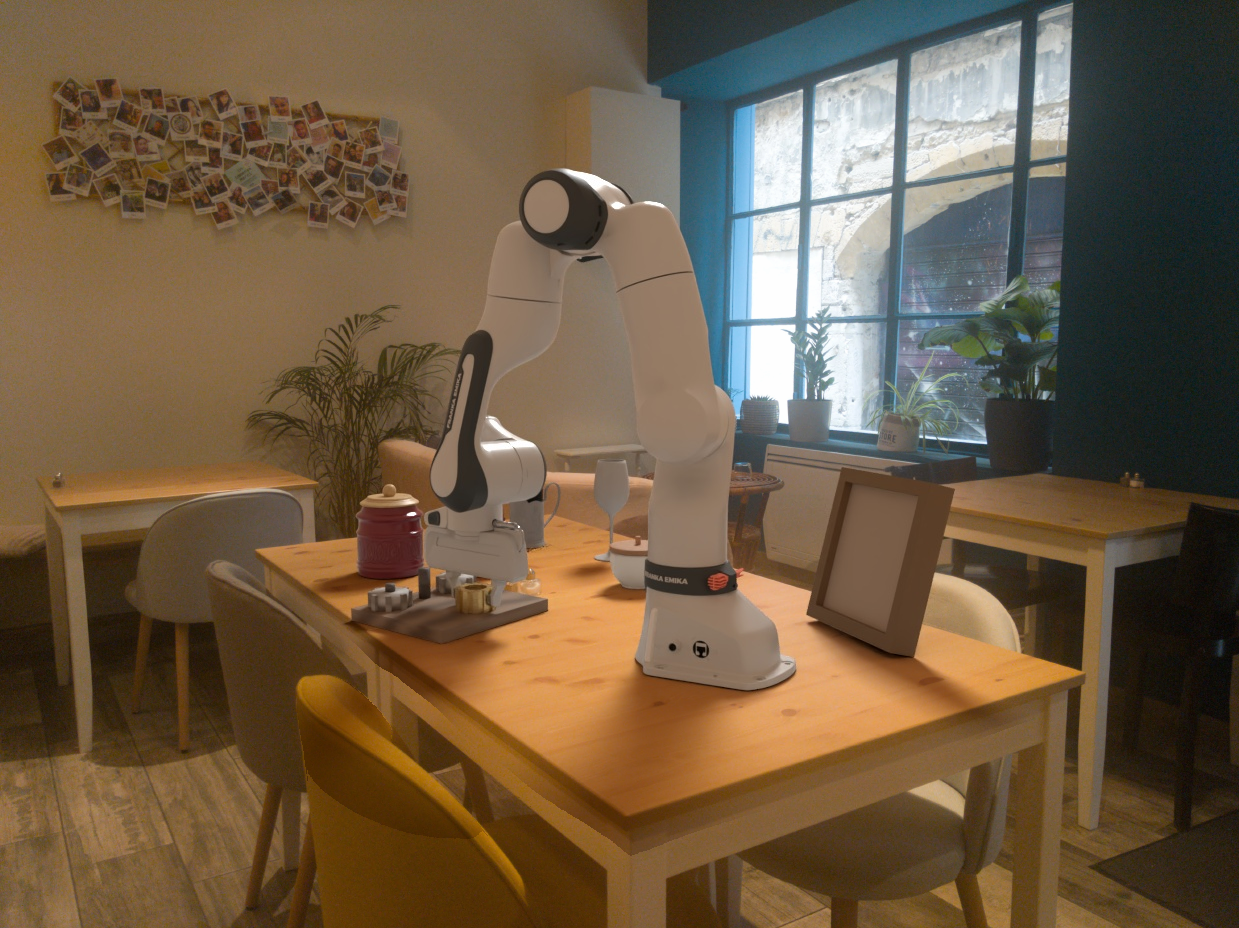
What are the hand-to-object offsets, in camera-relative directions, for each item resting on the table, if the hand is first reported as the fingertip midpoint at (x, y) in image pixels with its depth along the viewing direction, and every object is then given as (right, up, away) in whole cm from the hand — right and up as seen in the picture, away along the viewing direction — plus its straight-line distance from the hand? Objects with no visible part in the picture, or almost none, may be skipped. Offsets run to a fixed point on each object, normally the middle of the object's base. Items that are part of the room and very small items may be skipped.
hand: (475, 601), depth 152 cm
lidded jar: (+27, -1, +25) cm, 37 cm away
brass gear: (0, -1, 0) cm, 1 cm away
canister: (-22, 0, +35) cm, 41 cm away
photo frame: (+64, -4, -6) cm, 65 cm away
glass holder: (+4, +4, +67) cm, 67 cm away
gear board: (-4, -3, +4) cm, 6 cm away
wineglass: (+21, +2, +50) cm, 55 cm away
